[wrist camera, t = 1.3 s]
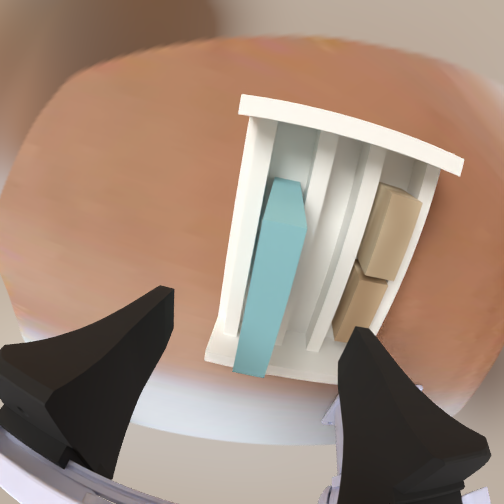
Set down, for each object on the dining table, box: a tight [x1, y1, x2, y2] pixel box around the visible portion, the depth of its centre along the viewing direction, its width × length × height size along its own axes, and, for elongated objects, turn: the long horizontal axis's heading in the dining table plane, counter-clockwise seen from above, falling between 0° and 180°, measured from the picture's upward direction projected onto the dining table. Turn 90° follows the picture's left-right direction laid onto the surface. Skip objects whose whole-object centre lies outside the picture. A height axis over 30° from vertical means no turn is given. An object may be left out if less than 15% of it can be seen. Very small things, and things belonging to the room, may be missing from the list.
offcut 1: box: [332, 259, 388, 343], centre depth 19 cm, size 2×5×3 cm, turn 170°
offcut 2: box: [356, 182, 423, 281], centre depth 17 cm, size 2×5×4 cm, turn 170°
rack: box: [205, 94, 464, 385], centre depth 18 cm, size 12×17×5 cm
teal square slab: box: [232, 177, 307, 378], centre depth 16 cm, size 2×8×8 cm, turn 170°
